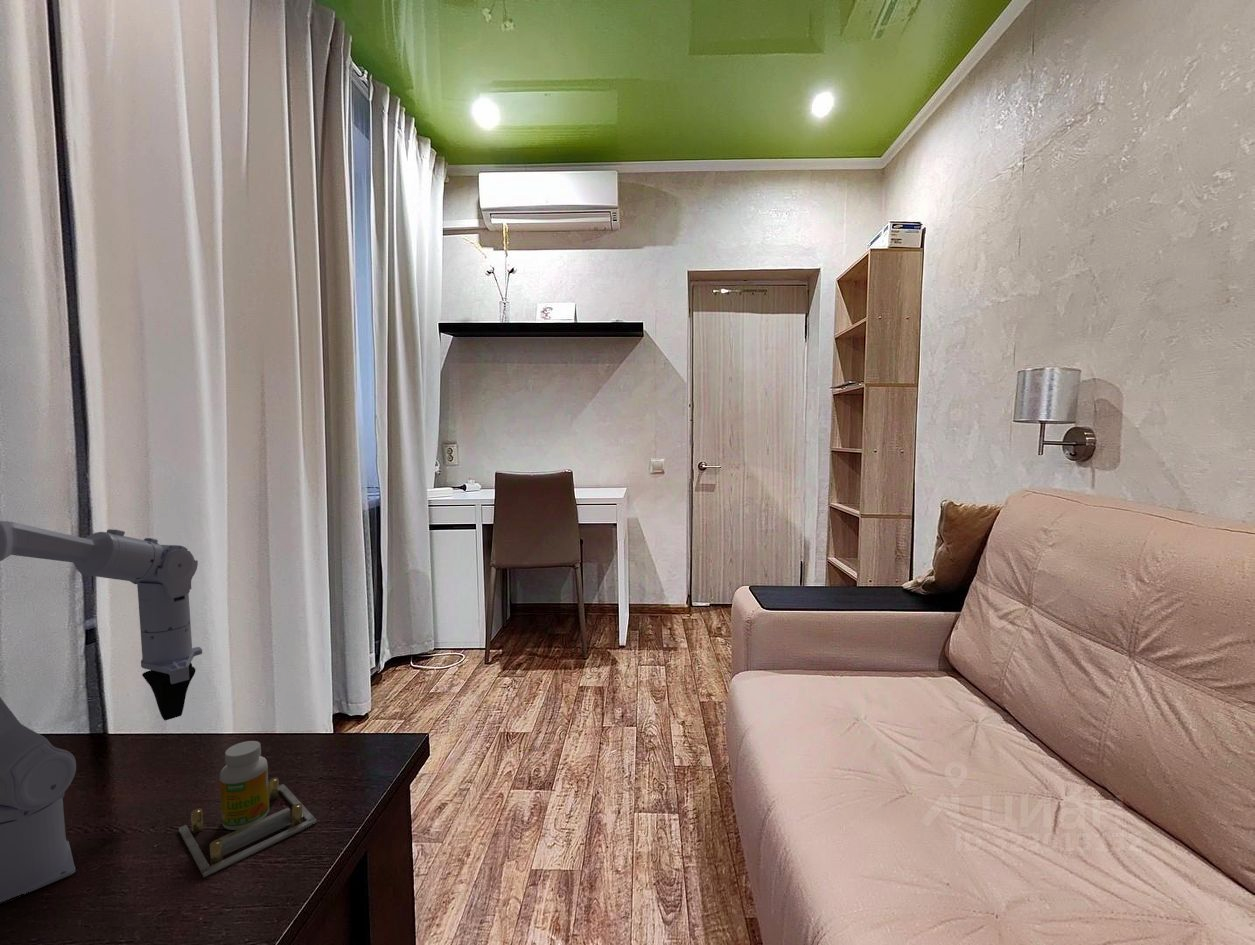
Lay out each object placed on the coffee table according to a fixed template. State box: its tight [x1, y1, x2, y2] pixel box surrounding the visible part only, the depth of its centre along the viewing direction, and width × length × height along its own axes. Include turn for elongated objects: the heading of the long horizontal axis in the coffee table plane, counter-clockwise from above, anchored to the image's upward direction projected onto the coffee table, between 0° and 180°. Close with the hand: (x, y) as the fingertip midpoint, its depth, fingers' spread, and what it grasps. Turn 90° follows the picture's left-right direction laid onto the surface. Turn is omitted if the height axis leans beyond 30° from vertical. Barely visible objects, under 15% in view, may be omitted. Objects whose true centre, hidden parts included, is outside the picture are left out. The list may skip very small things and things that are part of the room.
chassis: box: [178, 777, 317, 878], centre depth 76 cm, size 12×12×2 cm
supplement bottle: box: [219, 740, 270, 831], centre depth 78 cm, size 5×5×10 cm
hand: (172, 716), depth 85 cm, fingers closed
